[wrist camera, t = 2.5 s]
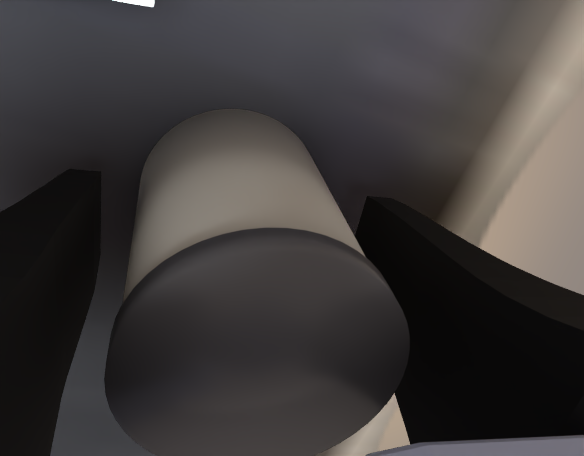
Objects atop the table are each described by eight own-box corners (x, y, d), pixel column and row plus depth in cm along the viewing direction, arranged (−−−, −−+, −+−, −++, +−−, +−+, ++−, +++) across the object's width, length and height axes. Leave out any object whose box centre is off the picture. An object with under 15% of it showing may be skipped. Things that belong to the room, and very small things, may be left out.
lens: (300, 272, 14) (365, 464, 9) (131, 264, 13) (103, 479, 8) (339, 117, 12) (451, 260, 7) (139, 91, 11) (106, 240, 6)
